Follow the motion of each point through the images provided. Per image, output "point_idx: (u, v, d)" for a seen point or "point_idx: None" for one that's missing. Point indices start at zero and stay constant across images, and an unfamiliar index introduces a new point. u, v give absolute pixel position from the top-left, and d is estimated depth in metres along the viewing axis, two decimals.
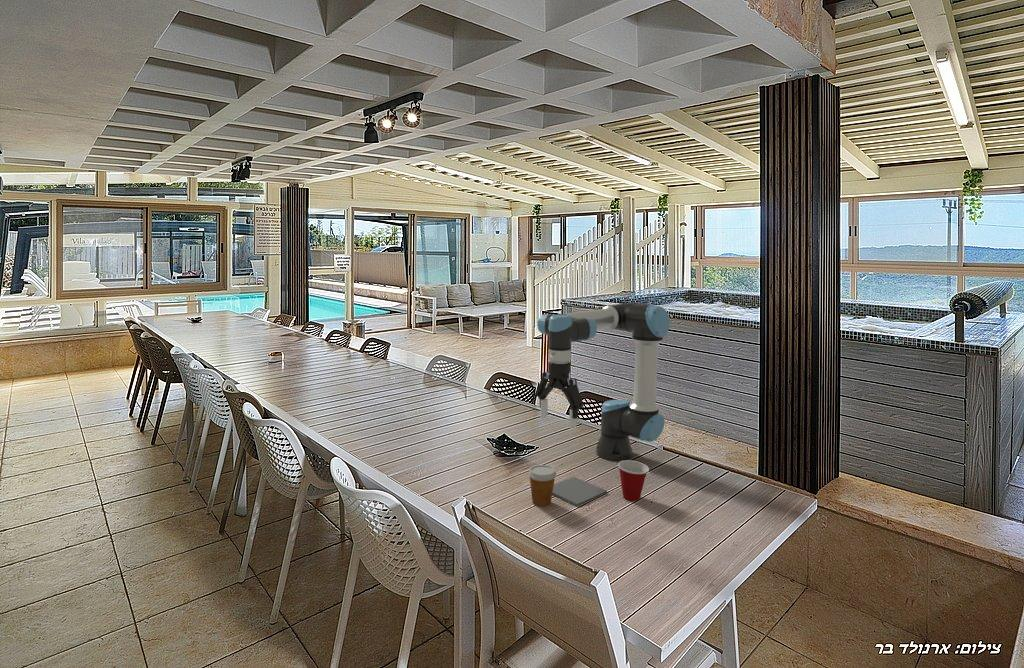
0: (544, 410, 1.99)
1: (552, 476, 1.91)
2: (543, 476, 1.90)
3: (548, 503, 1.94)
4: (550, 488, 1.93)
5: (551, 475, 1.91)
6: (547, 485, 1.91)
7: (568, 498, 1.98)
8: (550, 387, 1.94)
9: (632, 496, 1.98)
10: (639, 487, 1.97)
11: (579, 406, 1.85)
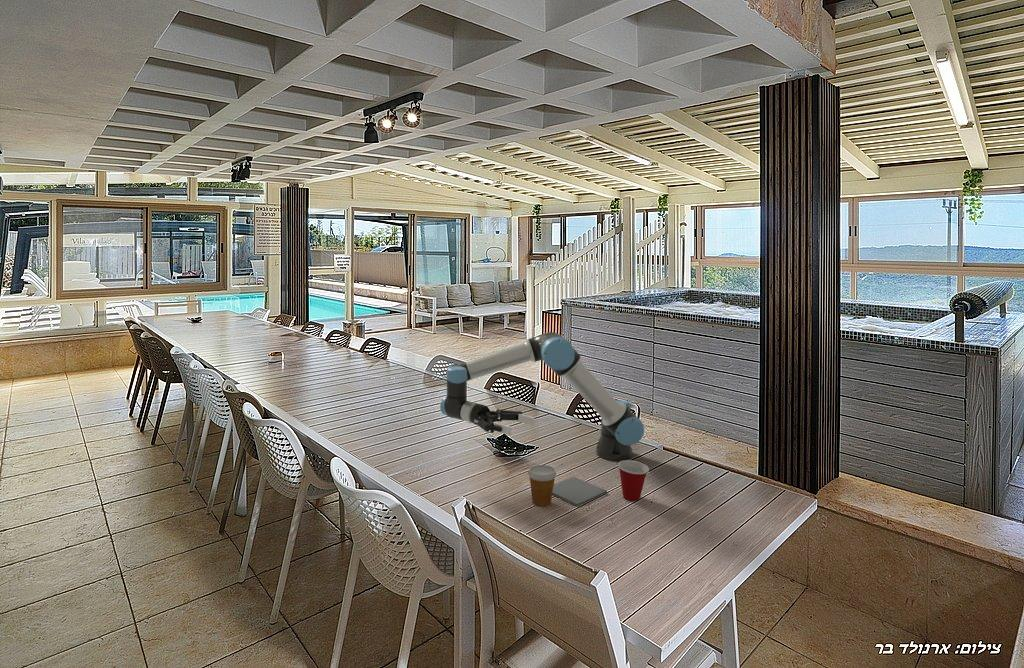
0: (527, 420, 2.04)
1: (552, 476, 1.91)
2: (543, 476, 1.90)
3: (548, 503, 1.94)
4: (550, 488, 1.93)
5: (551, 475, 1.91)
6: (547, 485, 1.91)
7: (568, 498, 1.98)
8: (501, 419, 2.07)
9: (632, 496, 1.98)
10: (639, 487, 1.97)
11: (486, 430, 1.94)
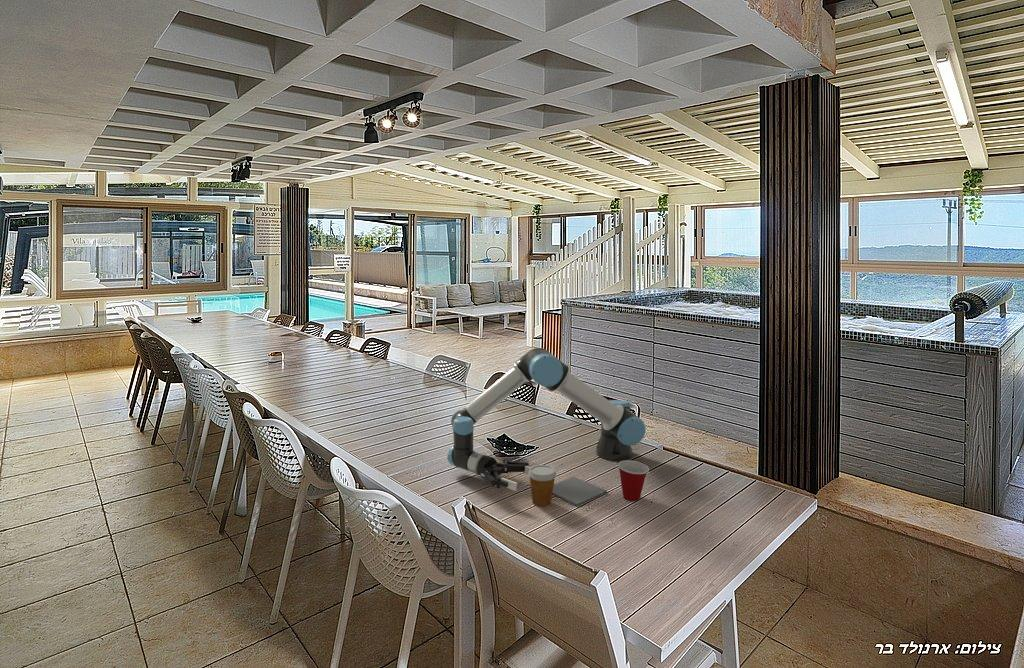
0: None
1: (552, 476, 1.91)
2: (543, 476, 1.90)
3: (548, 503, 1.94)
4: (550, 488, 1.93)
5: (551, 475, 1.91)
6: (547, 485, 1.91)
7: (568, 498, 1.98)
8: (508, 470, 2.08)
9: (632, 496, 1.98)
10: (639, 487, 1.97)
11: (492, 485, 1.95)
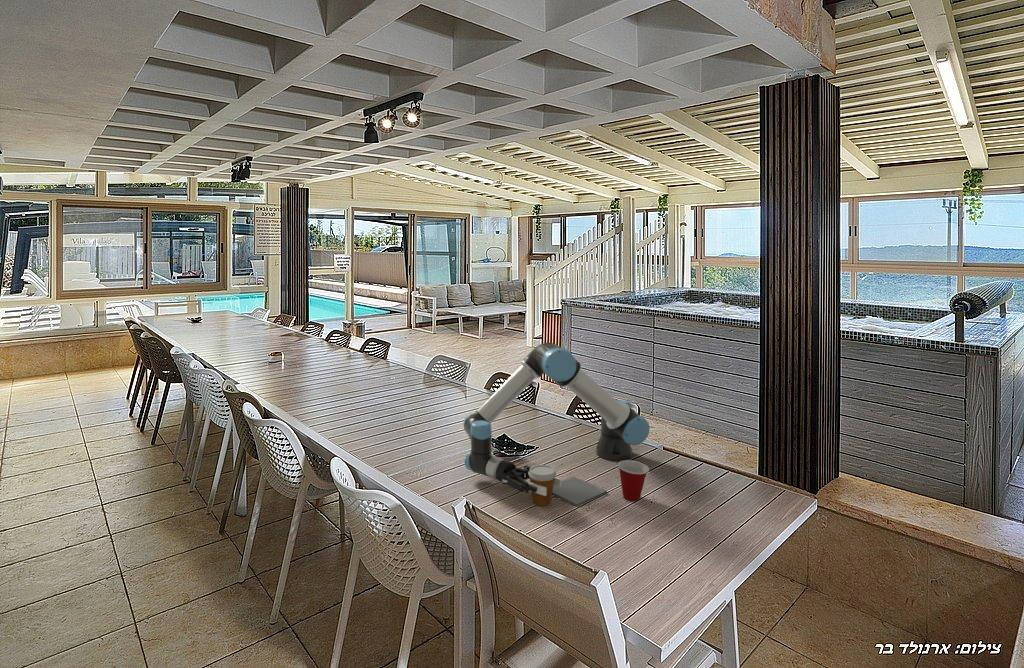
0: None
1: (552, 476, 1.91)
2: (543, 476, 1.90)
3: (548, 503, 1.94)
4: (550, 488, 1.93)
5: (551, 475, 1.91)
6: (547, 485, 1.91)
7: (568, 498, 1.98)
8: (527, 477, 2.02)
9: (632, 496, 1.98)
10: (639, 487, 1.97)
11: (520, 490, 1.91)
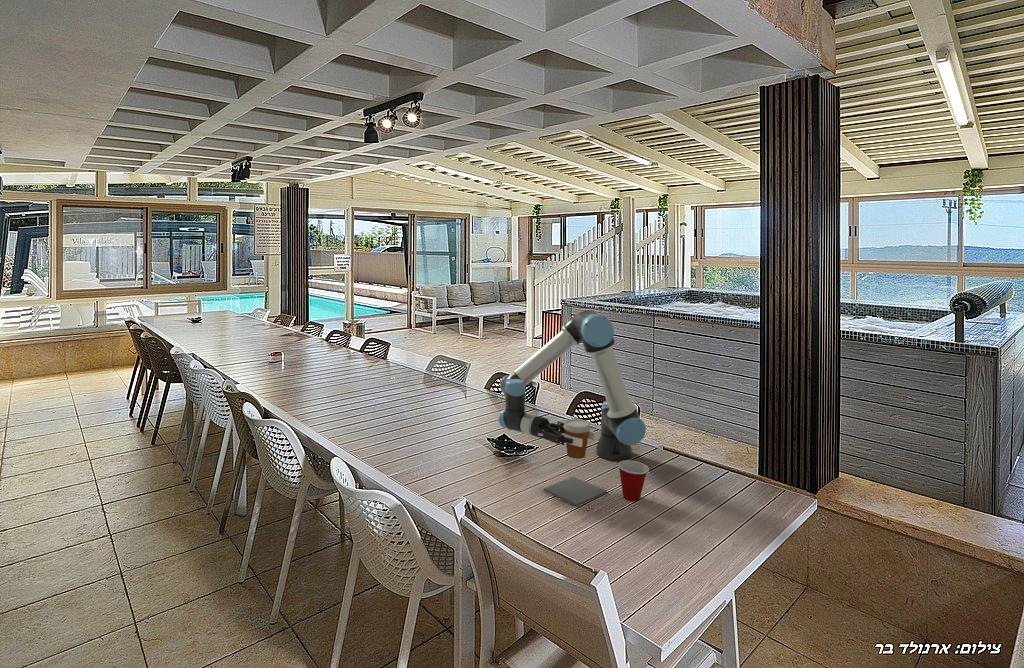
0: (588, 435, 2.03)
1: (587, 428, 1.98)
2: (579, 428, 1.96)
3: (583, 455, 2.00)
4: (585, 440, 1.99)
5: (586, 427, 1.97)
6: (582, 437, 1.97)
7: (568, 498, 1.98)
8: (561, 432, 2.08)
9: (632, 496, 1.98)
10: (639, 487, 1.97)
11: (556, 442, 1.97)
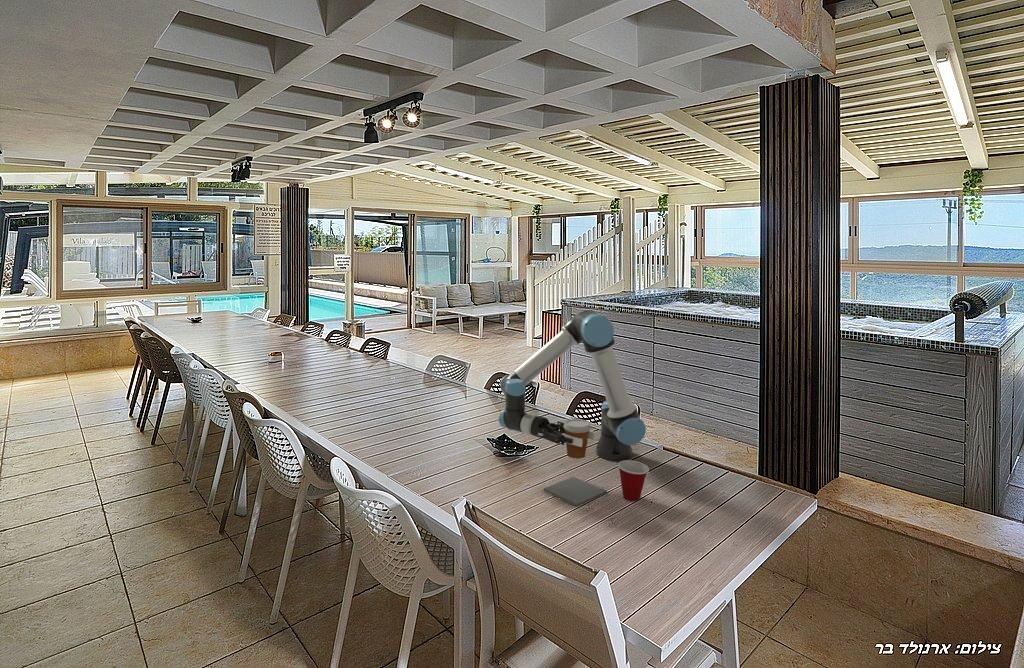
0: (588, 435, 2.03)
1: (587, 428, 1.98)
2: (579, 428, 1.96)
3: (583, 455, 2.00)
4: (585, 440, 1.99)
5: (586, 427, 1.97)
6: (582, 437, 1.97)
7: (568, 498, 1.98)
8: (561, 432, 2.08)
9: (632, 496, 1.98)
10: (639, 487, 1.97)
11: (556, 442, 1.97)
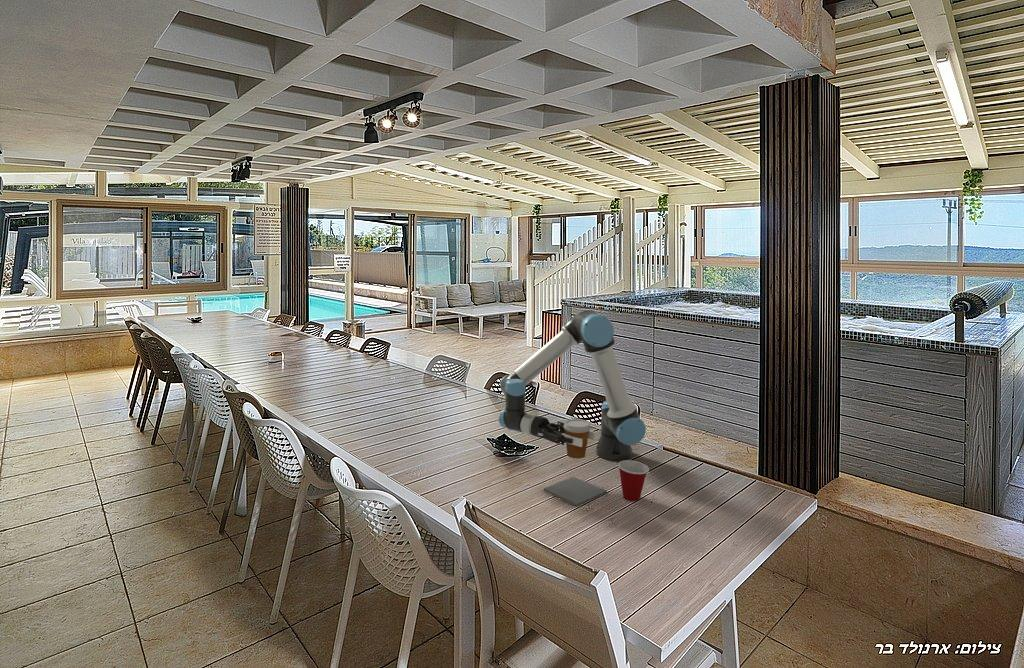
0: (588, 435, 2.03)
1: (587, 428, 1.98)
2: (579, 428, 1.96)
3: (583, 455, 2.00)
4: (585, 440, 1.99)
5: (586, 427, 1.97)
6: (582, 437, 1.97)
7: (568, 498, 1.98)
8: (561, 432, 2.08)
9: (632, 496, 1.98)
10: (639, 487, 1.97)
11: (556, 442, 1.97)
